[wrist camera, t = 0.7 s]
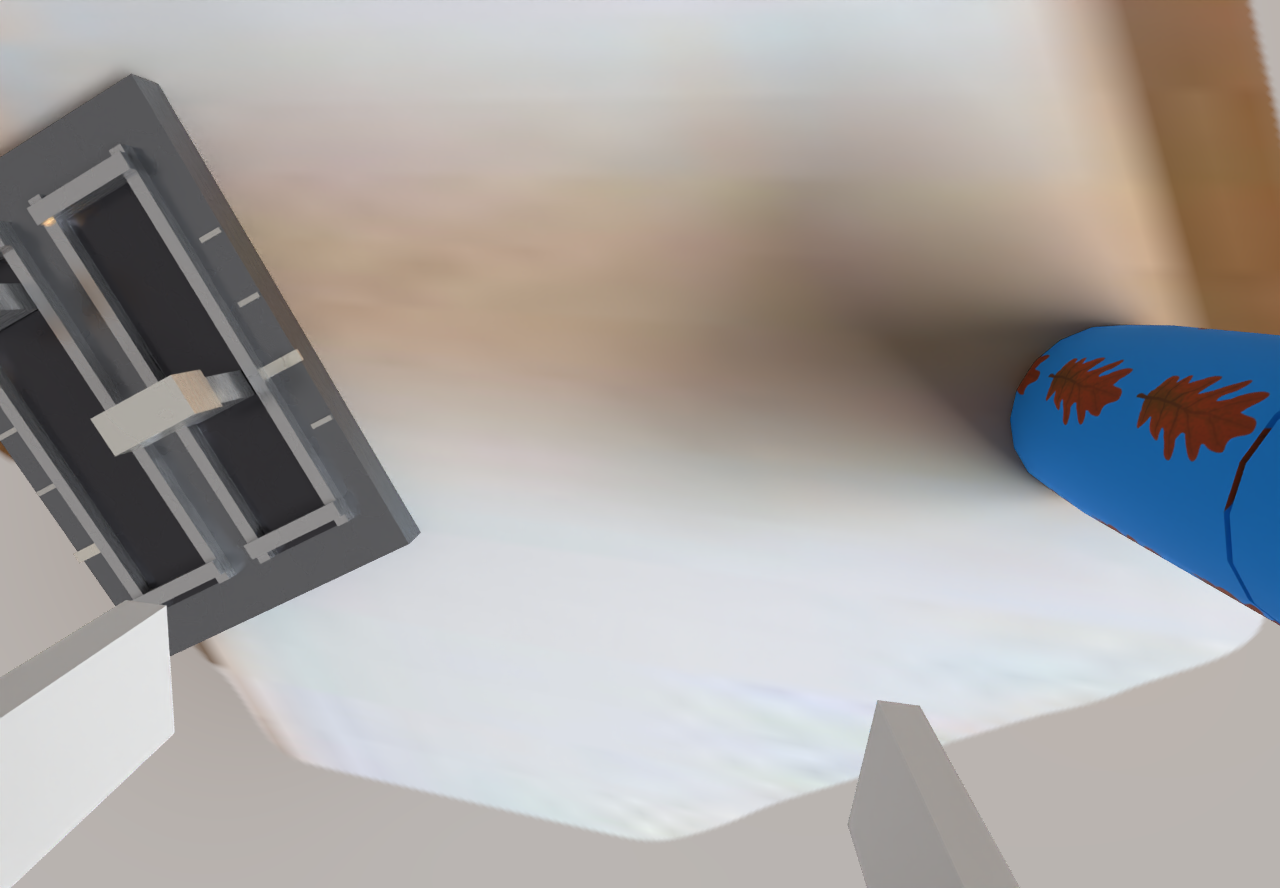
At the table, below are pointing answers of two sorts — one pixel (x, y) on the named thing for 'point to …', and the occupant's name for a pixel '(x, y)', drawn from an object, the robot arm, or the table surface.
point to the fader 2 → (169, 408)
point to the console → (162, 346)
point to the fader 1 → (14, 303)
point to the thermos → (1166, 445)
